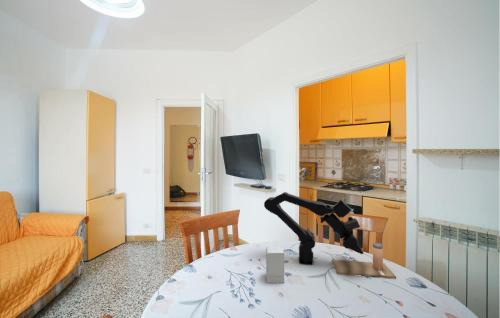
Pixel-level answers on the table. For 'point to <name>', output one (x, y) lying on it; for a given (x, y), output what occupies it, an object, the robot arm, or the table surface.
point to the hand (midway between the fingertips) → (360, 249)
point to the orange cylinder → (378, 256)
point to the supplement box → (275, 264)
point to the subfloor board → (361, 269)
